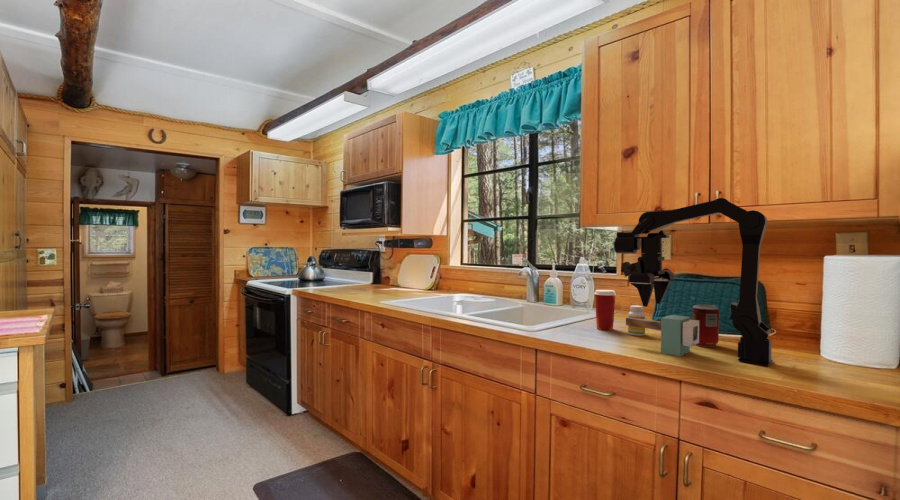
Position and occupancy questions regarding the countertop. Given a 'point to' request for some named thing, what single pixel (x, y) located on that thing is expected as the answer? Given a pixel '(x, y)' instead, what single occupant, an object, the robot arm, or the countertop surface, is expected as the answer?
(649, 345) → the countertop surface
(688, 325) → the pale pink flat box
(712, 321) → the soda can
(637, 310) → the supplement bottle
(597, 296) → the paper cup
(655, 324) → the shaft
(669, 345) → the block
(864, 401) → the countertop surface
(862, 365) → the countertop surface
